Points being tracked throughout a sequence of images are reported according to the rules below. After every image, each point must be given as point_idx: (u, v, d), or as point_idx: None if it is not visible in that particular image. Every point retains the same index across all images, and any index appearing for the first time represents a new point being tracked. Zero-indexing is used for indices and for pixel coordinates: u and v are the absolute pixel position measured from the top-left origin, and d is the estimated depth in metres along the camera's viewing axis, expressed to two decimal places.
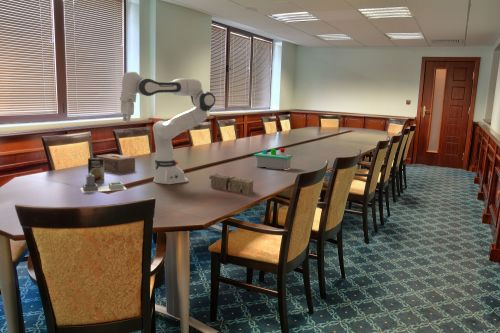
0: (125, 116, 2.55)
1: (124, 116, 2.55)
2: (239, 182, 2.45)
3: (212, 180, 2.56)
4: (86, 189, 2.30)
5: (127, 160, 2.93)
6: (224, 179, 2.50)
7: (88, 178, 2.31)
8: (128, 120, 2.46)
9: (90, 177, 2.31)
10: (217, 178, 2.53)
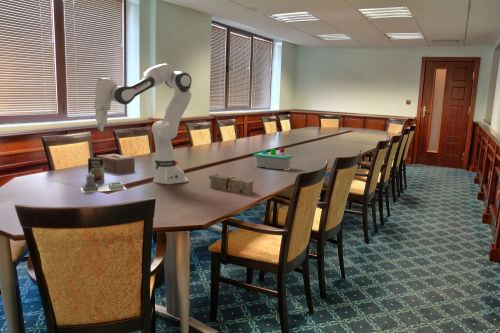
0: (100, 124, 2.43)
1: (99, 124, 2.42)
2: (239, 183, 2.45)
3: (212, 180, 2.55)
4: (86, 189, 2.30)
5: (126, 160, 2.92)
6: (224, 179, 2.50)
7: (88, 178, 2.31)
8: (101, 129, 2.34)
9: (90, 177, 2.31)
10: (217, 178, 2.53)
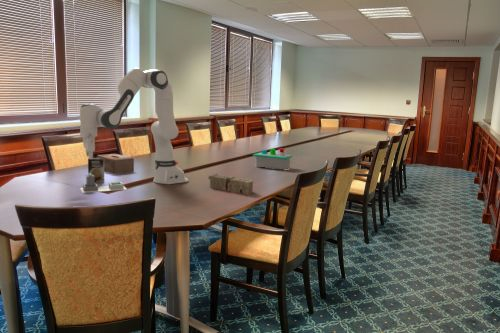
0: (88, 151, 2.35)
1: (87, 151, 2.35)
2: (239, 183, 2.44)
3: (211, 180, 2.55)
4: (86, 189, 2.30)
5: (125, 160, 2.91)
6: (223, 179, 2.50)
7: (88, 178, 2.31)
8: (90, 157, 2.26)
9: (90, 177, 2.31)
10: (216, 178, 2.53)
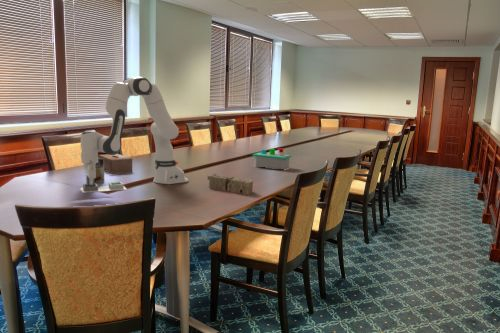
0: None
1: None
2: (239, 183, 2.44)
3: (210, 181, 2.54)
4: (86, 189, 2.30)
5: (123, 161, 2.90)
6: (223, 179, 2.49)
7: (88, 178, 2.31)
8: (91, 182, 2.31)
9: None
10: (216, 179, 2.52)
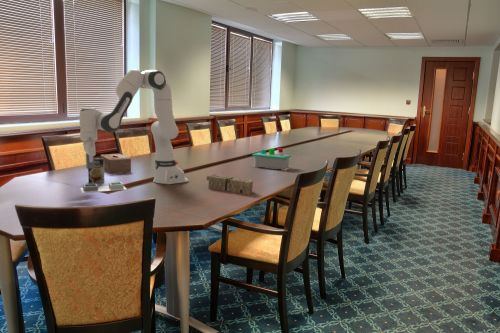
0: None
1: None
2: (239, 183, 2.44)
3: (210, 181, 2.53)
4: (86, 189, 2.30)
5: (121, 161, 2.89)
6: (223, 180, 2.49)
7: (88, 156, 2.29)
8: (91, 160, 2.28)
9: None
10: (215, 179, 2.51)
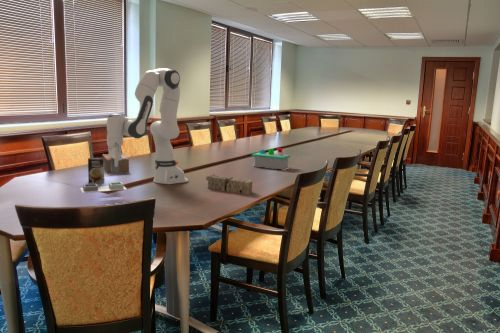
0: None
1: None
2: (239, 183, 2.44)
3: (209, 181, 2.52)
4: (86, 189, 2.30)
5: (119, 161, 2.88)
6: (222, 180, 2.48)
7: (113, 160, 2.35)
8: (116, 165, 2.35)
9: None
10: (215, 179, 2.50)
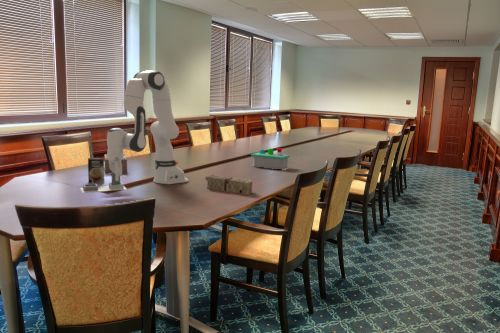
0: None
1: None
2: (239, 183, 2.43)
3: (209, 181, 2.52)
4: (86, 189, 2.30)
5: None
6: (222, 180, 2.48)
7: (114, 175, 2.37)
8: (117, 179, 2.37)
9: None
10: (214, 179, 2.50)
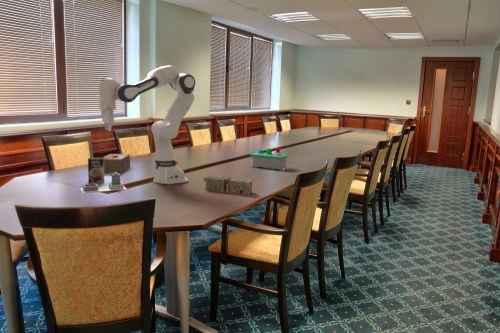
0: (107, 125, 2.47)
1: (106, 125, 2.47)
2: (239, 183, 2.43)
3: (207, 182, 2.49)
4: (86, 189, 2.30)
5: (110, 161, 2.87)
6: (221, 181, 2.46)
7: (114, 176, 2.37)
8: (109, 129, 2.38)
9: (116, 175, 2.38)
10: (213, 180, 2.48)
